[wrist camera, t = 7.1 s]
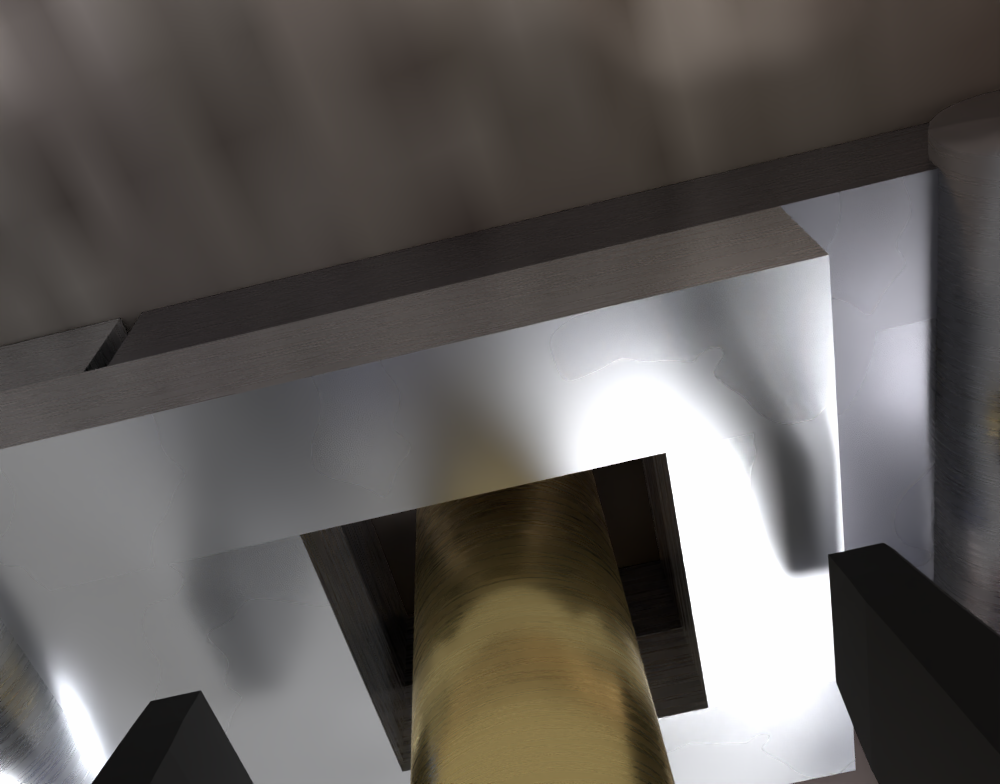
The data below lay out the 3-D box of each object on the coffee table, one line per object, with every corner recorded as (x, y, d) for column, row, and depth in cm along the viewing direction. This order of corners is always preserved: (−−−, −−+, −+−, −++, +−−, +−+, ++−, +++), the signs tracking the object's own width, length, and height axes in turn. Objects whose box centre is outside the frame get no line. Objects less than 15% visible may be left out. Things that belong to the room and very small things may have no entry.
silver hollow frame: (786, 633, 16) (892, 862, 12) (15, 796, 17) (-101, 1057, 13) (739, 145, 12) (880, 274, 8) (-294, 395, 12) (-595, 617, 9)
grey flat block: (1141, 557, 16) (1267, 681, 13) (337, 728, 16) (321, 873, 14) (1226, 26, 11) (1434, 70, 9) (132, 292, 12) (60, 395, 10)
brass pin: (598, 530, 15) (750, 1139, 8) (435, 557, 15) (438, 1186, 8) (579, 389, 13) (743, 966, 6) (401, 419, 13) (369, 1024, 6)
